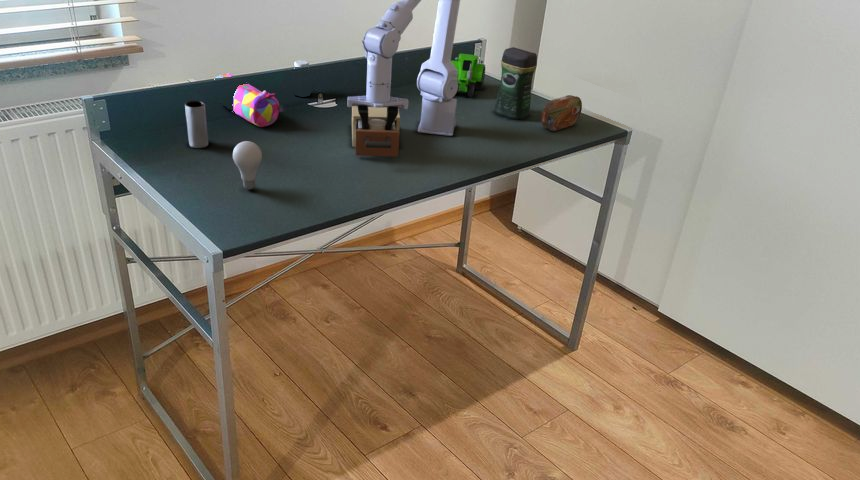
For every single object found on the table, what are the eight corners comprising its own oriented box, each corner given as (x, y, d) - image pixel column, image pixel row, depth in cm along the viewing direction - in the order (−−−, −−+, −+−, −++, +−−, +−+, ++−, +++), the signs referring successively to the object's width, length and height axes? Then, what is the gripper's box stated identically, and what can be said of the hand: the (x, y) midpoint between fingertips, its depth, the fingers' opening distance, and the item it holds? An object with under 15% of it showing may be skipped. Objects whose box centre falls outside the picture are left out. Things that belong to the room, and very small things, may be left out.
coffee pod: (387, 138, 182) (388, 120, 179) (384, 145, 178) (385, 126, 175) (369, 136, 182) (369, 117, 180) (365, 143, 178) (366, 124, 176)
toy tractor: (442, 96, 220) (445, 63, 214) (450, 79, 233) (453, 48, 228) (478, 100, 219) (482, 67, 213) (483, 84, 232) (487, 52, 227)
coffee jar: (533, 116, 211) (543, 51, 201) (517, 122, 206) (527, 56, 196) (506, 106, 216) (515, 43, 206) (490, 112, 211) (498, 47, 201)
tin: (545, 133, 200) (550, 104, 196) (537, 130, 202) (542, 100, 197) (579, 123, 209) (585, 94, 204) (571, 120, 211) (576, 91, 206)
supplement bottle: (306, 90, 215) (306, 58, 210) (314, 96, 212) (314, 63, 206) (289, 93, 213) (288, 60, 207) (297, 99, 209) (297, 65, 204)
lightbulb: (237, 182, 162) (233, 136, 156) (264, 183, 163) (262, 137, 157) (233, 195, 157) (229, 147, 151) (262, 195, 158) (259, 148, 152)
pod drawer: (399, 165, 174) (401, 140, 171) (355, 164, 173) (356, 139, 169) (394, 136, 188) (396, 113, 185) (354, 135, 187) (355, 112, 184)
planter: (212, 143, 179) (208, 103, 173) (200, 149, 175) (196, 108, 170) (197, 139, 180) (193, 99, 175) (185, 145, 177) (180, 104, 171)
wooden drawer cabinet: (398, 148, 185) (400, 117, 180) (352, 146, 183) (353, 116, 179) (394, 127, 196) (396, 98, 192) (351, 126, 195) (352, 96, 190)
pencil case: (286, 123, 193) (285, 90, 188) (257, 131, 187) (255, 97, 182) (237, 100, 205) (235, 68, 200) (208, 107, 199) (205, 74, 194)
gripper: (348, 85, 168) (347, 140, 175) (410, 87, 169) (407, 142, 177) (347, 75, 174) (346, 129, 181) (408, 78, 175) (405, 131, 183)
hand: (376, 135), depth 179 cm, fingers closed on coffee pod, 4 cm apart
